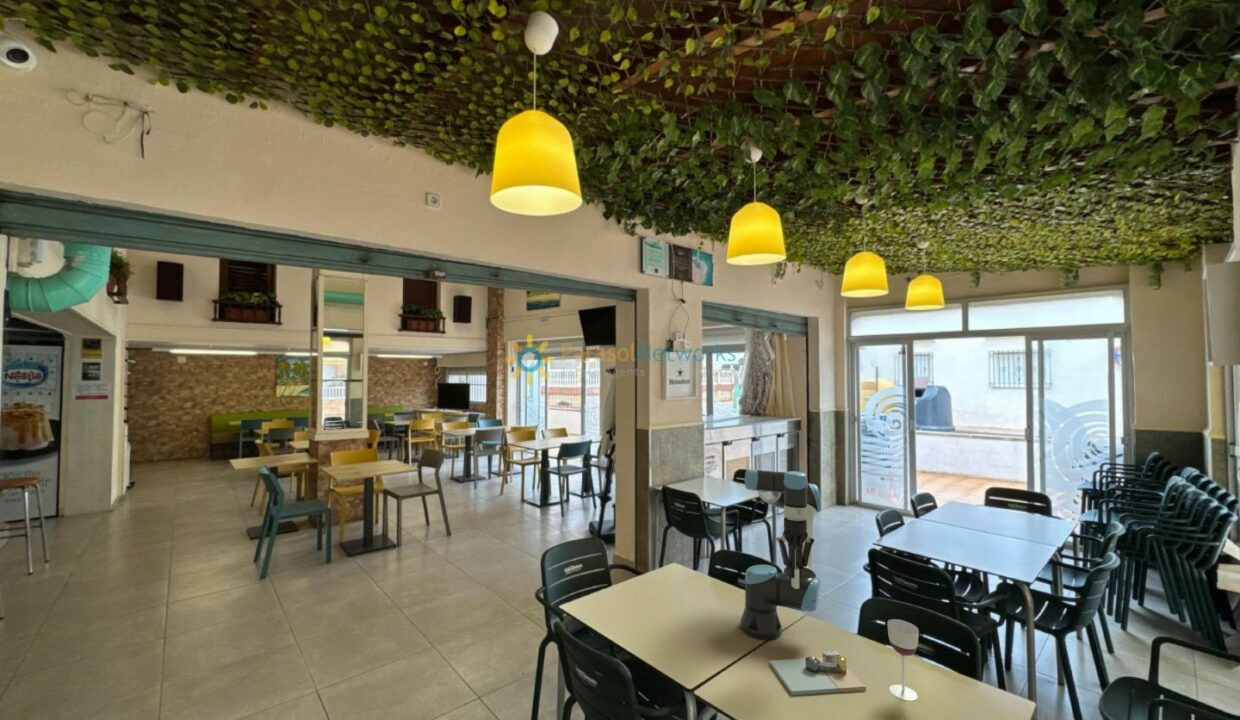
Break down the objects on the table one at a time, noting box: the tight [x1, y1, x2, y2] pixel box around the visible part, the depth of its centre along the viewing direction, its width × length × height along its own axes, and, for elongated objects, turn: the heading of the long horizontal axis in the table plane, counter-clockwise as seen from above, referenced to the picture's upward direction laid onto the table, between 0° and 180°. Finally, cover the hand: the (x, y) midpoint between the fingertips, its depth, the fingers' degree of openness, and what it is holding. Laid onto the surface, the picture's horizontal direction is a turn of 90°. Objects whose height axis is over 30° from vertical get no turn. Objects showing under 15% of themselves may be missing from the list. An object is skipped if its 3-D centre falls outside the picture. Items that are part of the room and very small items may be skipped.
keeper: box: [822, 650, 841, 663], centre depth 163 cm, size 2×5×3 cm, turn 97°
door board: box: [769, 657, 867, 696], centre depth 158 cm, size 16×24×1 cm, turn 97°
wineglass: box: [887, 618, 920, 702], centre depth 151 cm, size 8×9×20 cm
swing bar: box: [804, 655, 847, 674], centre depth 159 cm, size 13×4×4 cm, turn 82°
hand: (795, 586), depth 168 cm, fingers closed
